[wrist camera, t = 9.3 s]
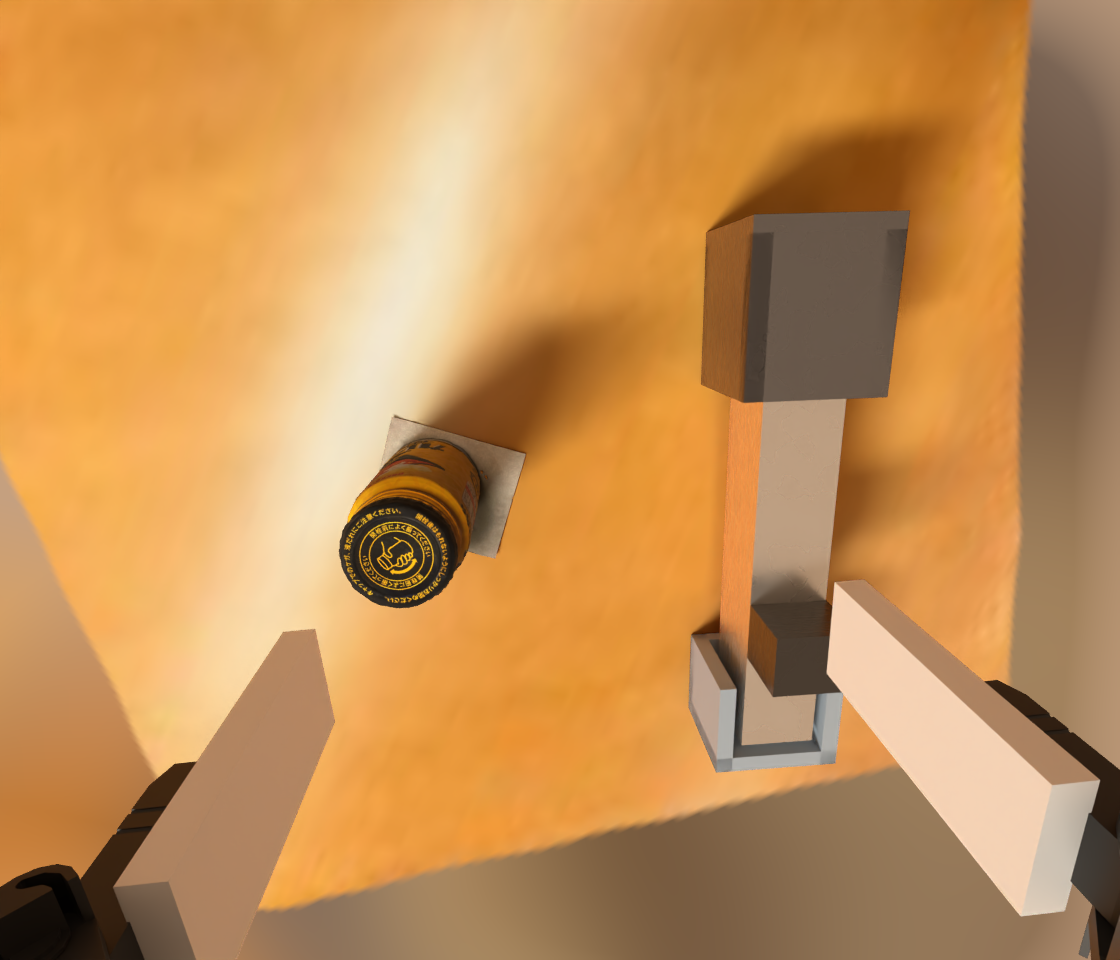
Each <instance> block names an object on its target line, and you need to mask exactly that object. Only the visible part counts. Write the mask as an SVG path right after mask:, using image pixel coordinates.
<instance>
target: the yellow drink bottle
mask: <svg viewBox="0 0 1120 960" xmlns="http://www.w3.org/2000/svg"><path fill="white" fill-rule="evenodd" d="M525 455H526V454H524V453H520V452H517V451H513V450H509V449H506V448H503V447H498V446H495V445H491V444H488V443H484V442H480V441H477V440H474V439H470V438H467V437H463V436H460V435H457V434H453V433H450V432H446V431H442V430H439V429H435V428H432V427H428V426H425V425H421V424H417V423H413V422H410V421H407V420H403V419H399V418H394V417H392V419H391V424H390V428H389V432H388V436H387V441H386V446H385V450H384V454H383V458H382V463H381V467H380V471H379V473H378V474H377V475H376V476H375V478H374V479H373V480H372V481H371V482H370V483H369V485H368V486H367V487H366V488H365V489H364V490H363V492H362V493H360V495H359V496H358V497H357V498H356V501H355V503H354V504H353V507H352V509H351V511H350V514H349V516H348V522H347V524H346V525H345V527H344V529H343V531H342V537H341V539H340V549H339V555H340V559H341V565H342V569H343V571H344V573H345V575H346V577H347V578H348V580H349V581H350V583H351V585H352V587H353V588H354V589H355V590H356V591H358V592H359V593H360V594H362V595H363V596H365V597H366V598H368V599H369V600H370V601H372V602H374V603H376V604H378V605H382V606H388V607H394V608H410V607H414V606H418V605H420V604H422V603H424V602H426V601H427V600H430V599H432V598H433V597H434V596H435V595H439V594H440V593H441V592H442V590H443V589H444V588H445V587H446V586H447V585H448V583H449V581H450V580H451V579H452V578H453V574H454V572H455V571H456V570H457V568H458V567H459V566H460V565H461V563H462V561H463V560H464V557H465V556H466V553H467V551H469V552H472V553H476V554H479V555H482V556H487V557H491V558H496V554H497V551H498V547H499V544H500V540H501V537H502V533H503V530H504V526H505V523H506V520H507V516H508V513H509V509H510V506H511V503H512V498H513V496H514V492H515V489H516V486H517V482H518V479H519V475H520V472H521V469H522V466H523V462H524V459H525ZM480 471H483V474H481V472H480ZM485 475H486V476H487V479H486V478H485V477H484V476H485Z"/></svg>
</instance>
